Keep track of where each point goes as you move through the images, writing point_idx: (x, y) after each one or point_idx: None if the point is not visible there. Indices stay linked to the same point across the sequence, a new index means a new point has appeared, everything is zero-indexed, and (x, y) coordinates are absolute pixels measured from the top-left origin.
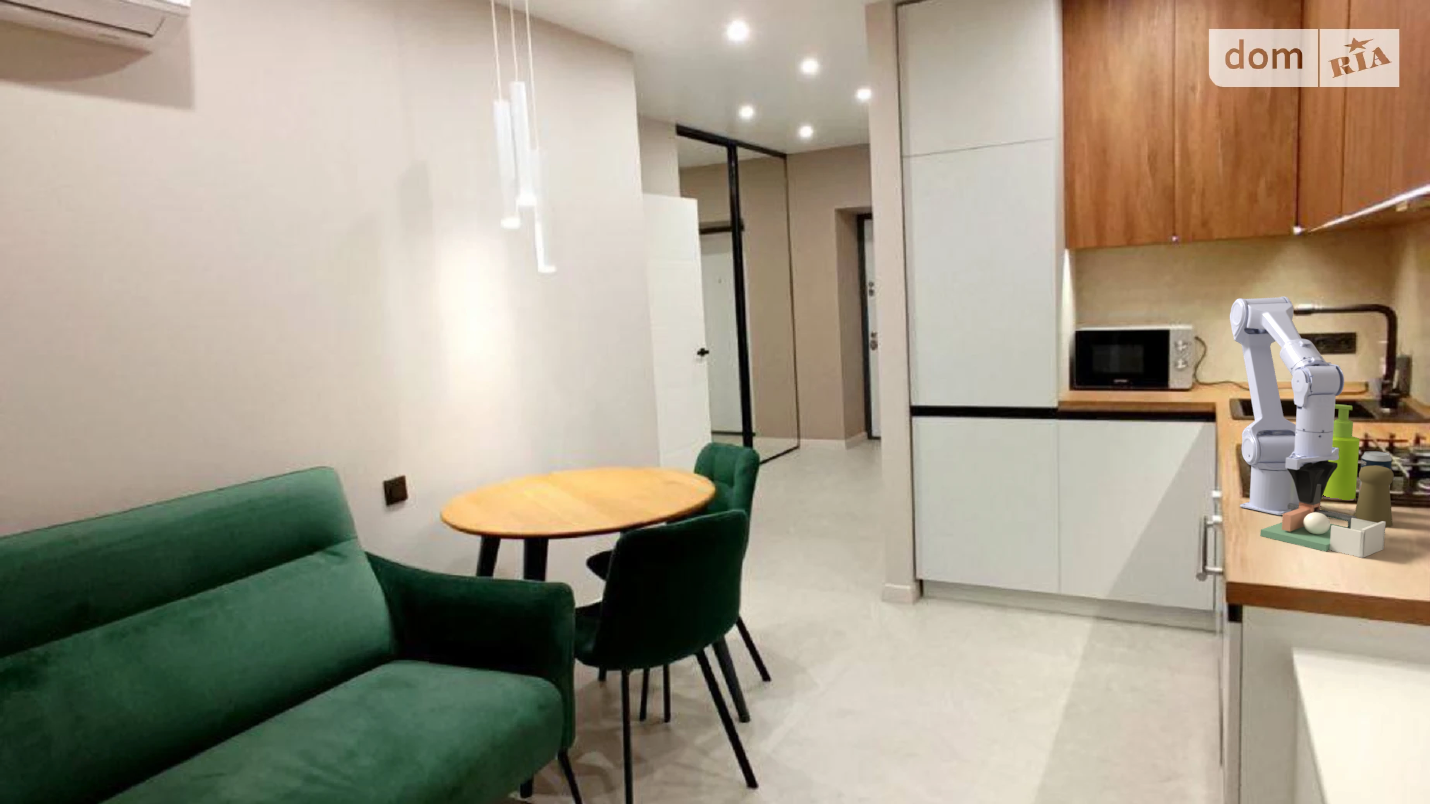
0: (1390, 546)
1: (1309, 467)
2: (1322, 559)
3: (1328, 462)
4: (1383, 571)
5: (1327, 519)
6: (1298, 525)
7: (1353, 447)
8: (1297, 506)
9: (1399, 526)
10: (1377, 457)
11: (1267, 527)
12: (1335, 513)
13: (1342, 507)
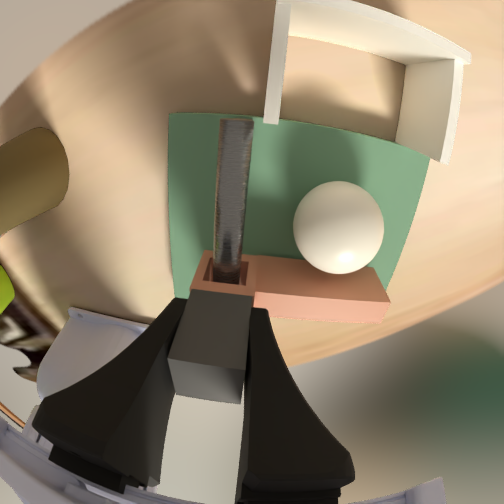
0: (223, 22)
1: (310, 498)
2: (476, 146)
3: (69, 451)
4: (469, 23)
5: (352, 200)
6: None
7: None
8: None
9: (28, 116)
10: None
11: None
12: (238, 204)
13: (17, 256)
